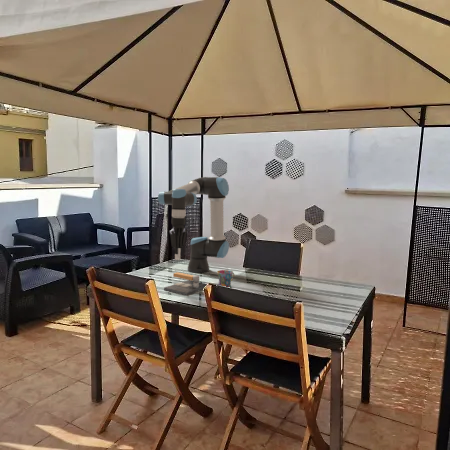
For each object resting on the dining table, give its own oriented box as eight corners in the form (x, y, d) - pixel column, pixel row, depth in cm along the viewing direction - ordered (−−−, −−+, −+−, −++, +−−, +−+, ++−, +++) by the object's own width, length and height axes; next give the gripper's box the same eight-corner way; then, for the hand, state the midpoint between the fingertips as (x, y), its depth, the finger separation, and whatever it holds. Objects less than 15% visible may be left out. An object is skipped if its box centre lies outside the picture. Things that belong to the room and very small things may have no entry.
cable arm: (177, 276, 227) (177, 271, 227) (200, 281, 218) (200, 276, 218) (173, 277, 224) (173, 272, 224) (196, 282, 215) (196, 277, 215)
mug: (224, 293, 215) (224, 274, 213) (213, 289, 221) (213, 271, 220) (239, 289, 223) (239, 271, 222) (228, 286, 230) (228, 268, 228)
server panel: (189, 282, 235) (189, 274, 234) (210, 287, 226) (210, 278, 225) (164, 290, 217) (164, 281, 216) (186, 295, 208) (186, 286, 207)
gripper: (181, 216, 218) (180, 257, 220) (165, 217, 207) (164, 260, 210) (191, 217, 214) (190, 259, 216) (175, 218, 203) (174, 262, 206)
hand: (177, 259), depth 213 cm, fingers closed
